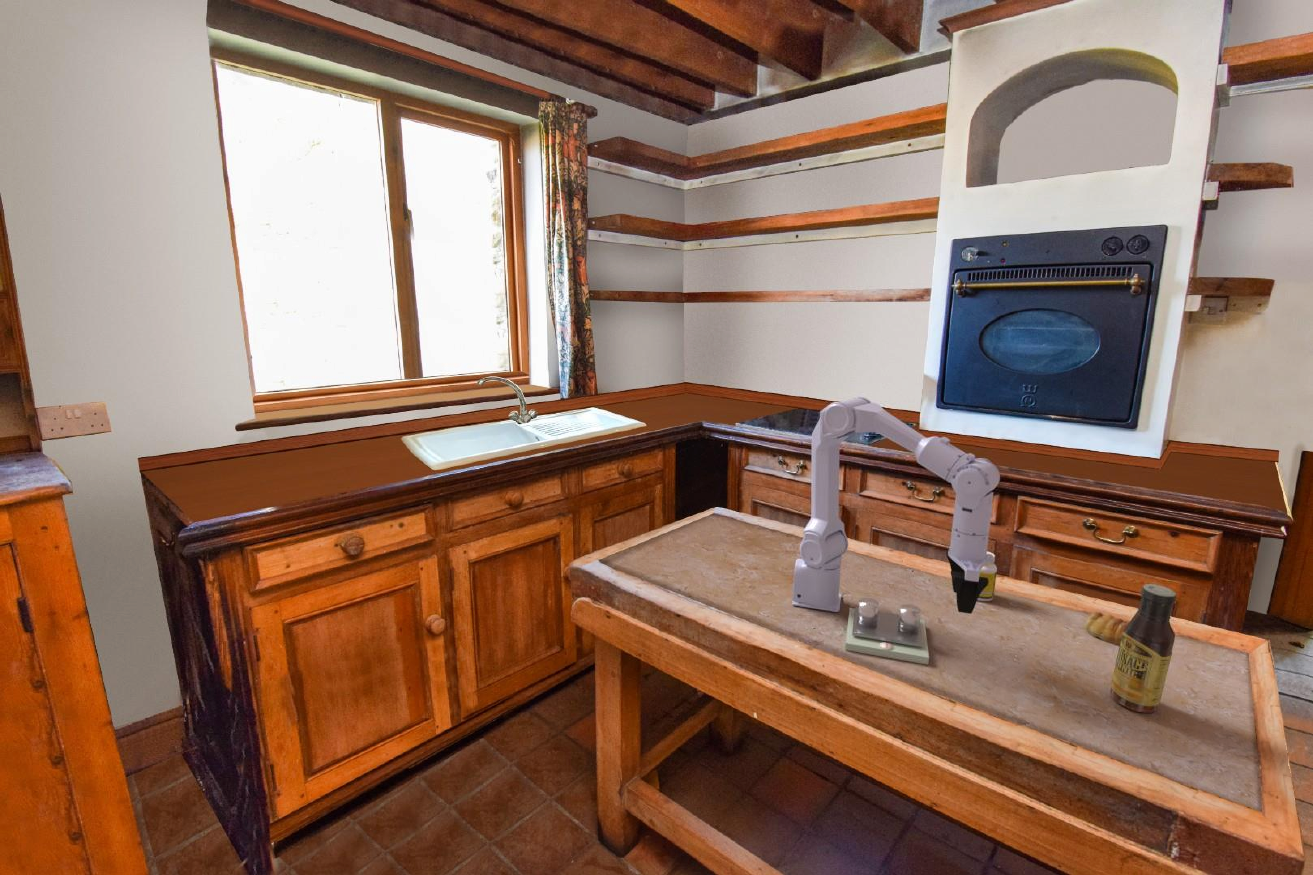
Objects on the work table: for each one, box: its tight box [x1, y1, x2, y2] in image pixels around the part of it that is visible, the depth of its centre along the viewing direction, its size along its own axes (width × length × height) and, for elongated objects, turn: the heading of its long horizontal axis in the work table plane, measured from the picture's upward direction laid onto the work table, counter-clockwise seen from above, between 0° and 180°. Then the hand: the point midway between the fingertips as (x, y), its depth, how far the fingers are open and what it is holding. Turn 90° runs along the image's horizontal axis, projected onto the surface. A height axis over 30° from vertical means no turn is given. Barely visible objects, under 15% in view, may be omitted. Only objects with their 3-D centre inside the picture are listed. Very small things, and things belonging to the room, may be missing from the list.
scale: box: [844, 607, 930, 666], centre depth 116 cm, size 14×14×2 cm
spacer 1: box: [857, 597, 880, 627], centre depth 117 cm, size 4×4×4 cm
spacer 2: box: [898, 603, 921, 633], centre depth 115 cm, size 4×4×4 cm
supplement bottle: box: [977, 551, 998, 602], centre depth 131 cm, size 5×5×10 cm
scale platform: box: [852, 607, 922, 647], centre depth 117 cm, size 12×10×2 cm
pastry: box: [1084, 610, 1129, 646], centre depth 116 cm, size 9×7×4 cm
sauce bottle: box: [1110, 583, 1177, 714], centre depth 95 cm, size 6×6×20 cm
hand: (962, 601), depth 109 cm, fingers open, 7 cm apart
